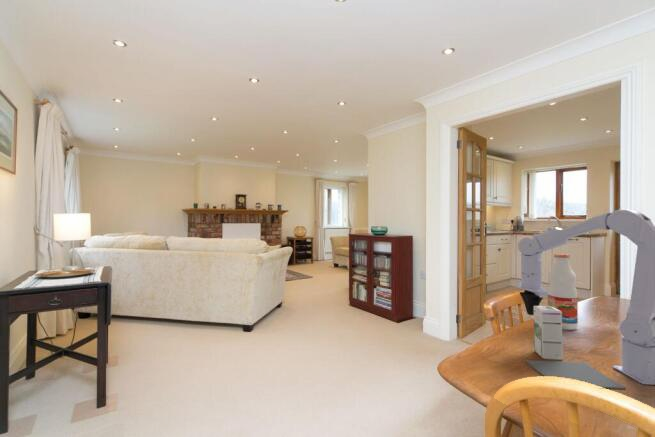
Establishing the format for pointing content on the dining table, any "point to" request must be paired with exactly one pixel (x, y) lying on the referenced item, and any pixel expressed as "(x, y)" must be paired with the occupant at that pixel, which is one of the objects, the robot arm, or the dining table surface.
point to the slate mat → (574, 372)
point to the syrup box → (548, 332)
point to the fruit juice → (563, 291)
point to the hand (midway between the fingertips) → (531, 314)
